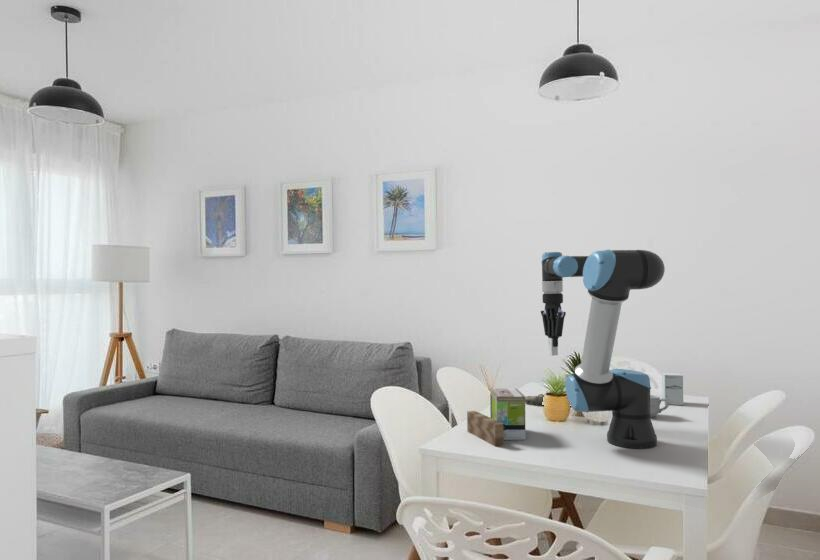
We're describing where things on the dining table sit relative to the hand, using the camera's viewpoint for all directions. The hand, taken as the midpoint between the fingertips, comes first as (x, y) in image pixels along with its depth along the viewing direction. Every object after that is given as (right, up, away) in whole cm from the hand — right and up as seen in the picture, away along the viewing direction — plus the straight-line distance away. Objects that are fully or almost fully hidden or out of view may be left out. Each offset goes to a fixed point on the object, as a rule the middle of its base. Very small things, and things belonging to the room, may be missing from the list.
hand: (553, 355), depth 215 cm
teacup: (+37, -24, +2) cm, 44 cm away
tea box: (-21, -25, -19) cm, 38 cm away
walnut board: (-29, -25, -23) cm, 45 cm away
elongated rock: (+11, -25, +25) cm, 37 cm away
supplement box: (+56, -24, +24) cm, 66 cm away
